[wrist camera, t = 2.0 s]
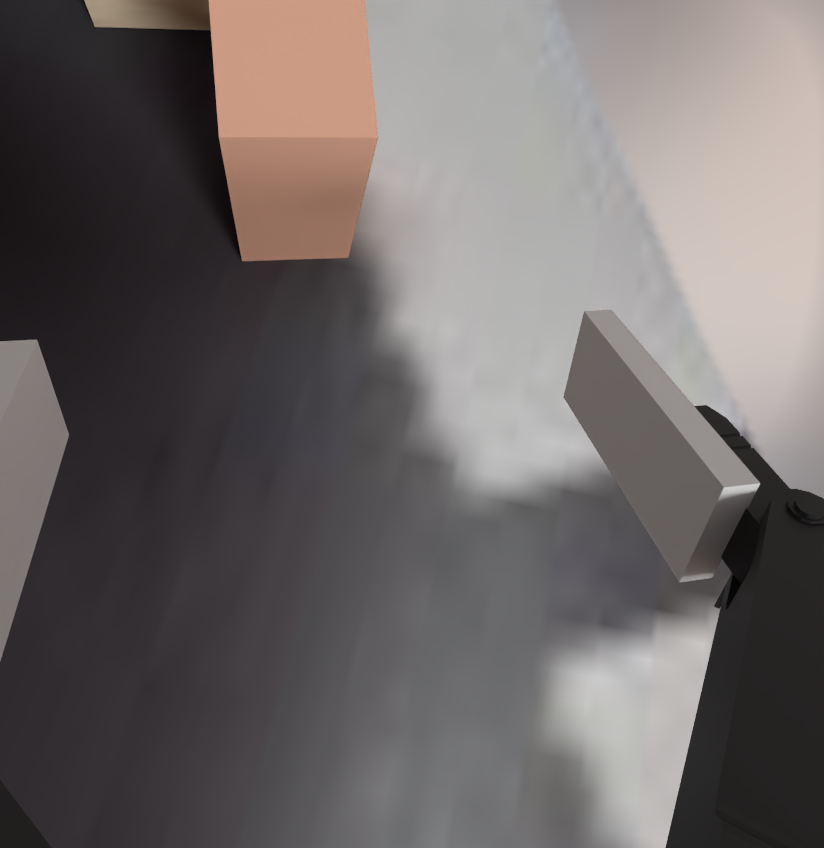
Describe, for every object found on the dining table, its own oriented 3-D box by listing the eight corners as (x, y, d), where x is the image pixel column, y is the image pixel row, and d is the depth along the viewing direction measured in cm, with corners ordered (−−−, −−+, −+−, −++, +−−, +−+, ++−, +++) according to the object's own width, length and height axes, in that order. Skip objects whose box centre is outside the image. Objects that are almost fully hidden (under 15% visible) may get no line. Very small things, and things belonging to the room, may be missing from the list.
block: (241, 261, 32) (219, 137, 21) (234, 159, 32) (207, -12, 21) (348, 257, 33) (378, 137, 22) (339, 159, 33) (363, -6, 22)
